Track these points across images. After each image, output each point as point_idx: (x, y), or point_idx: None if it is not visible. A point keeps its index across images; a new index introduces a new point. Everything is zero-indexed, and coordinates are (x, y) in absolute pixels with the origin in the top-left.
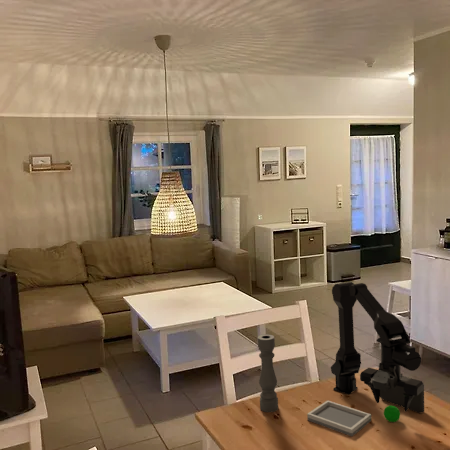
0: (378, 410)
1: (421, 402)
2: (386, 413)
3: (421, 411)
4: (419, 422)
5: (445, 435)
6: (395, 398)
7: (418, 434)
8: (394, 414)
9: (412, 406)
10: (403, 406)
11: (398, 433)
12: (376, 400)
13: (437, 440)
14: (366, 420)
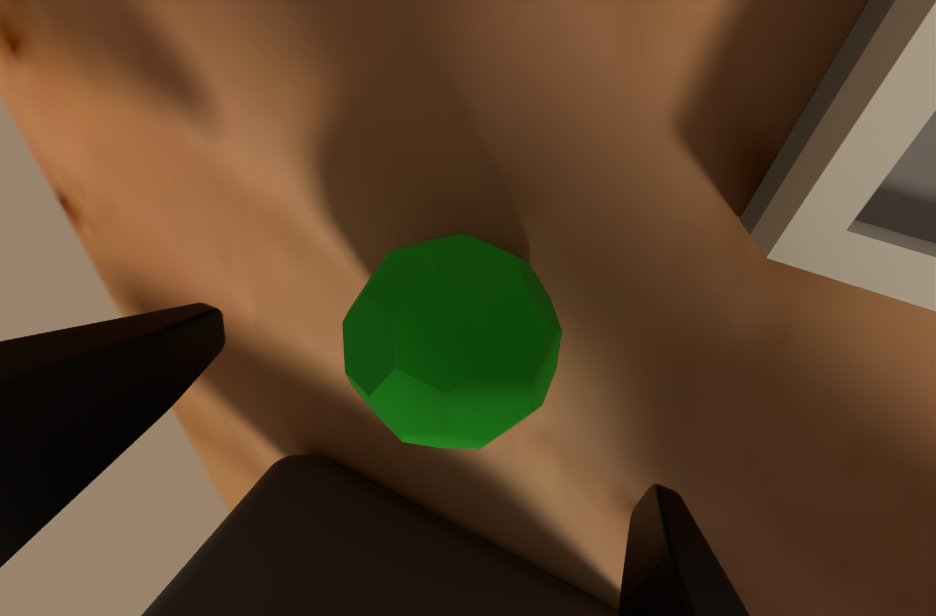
0: (649, 467)
1: (226, 527)
2: (497, 288)
3: (286, 459)
4: (269, 329)
5: (46, 179)
6: (489, 607)
7: (179, 97)
8: (378, 275)
9: (345, 508)
10: (434, 523)
11: (339, 9)
12: (684, 531)
13: (24, 52)
14: (870, 60)
